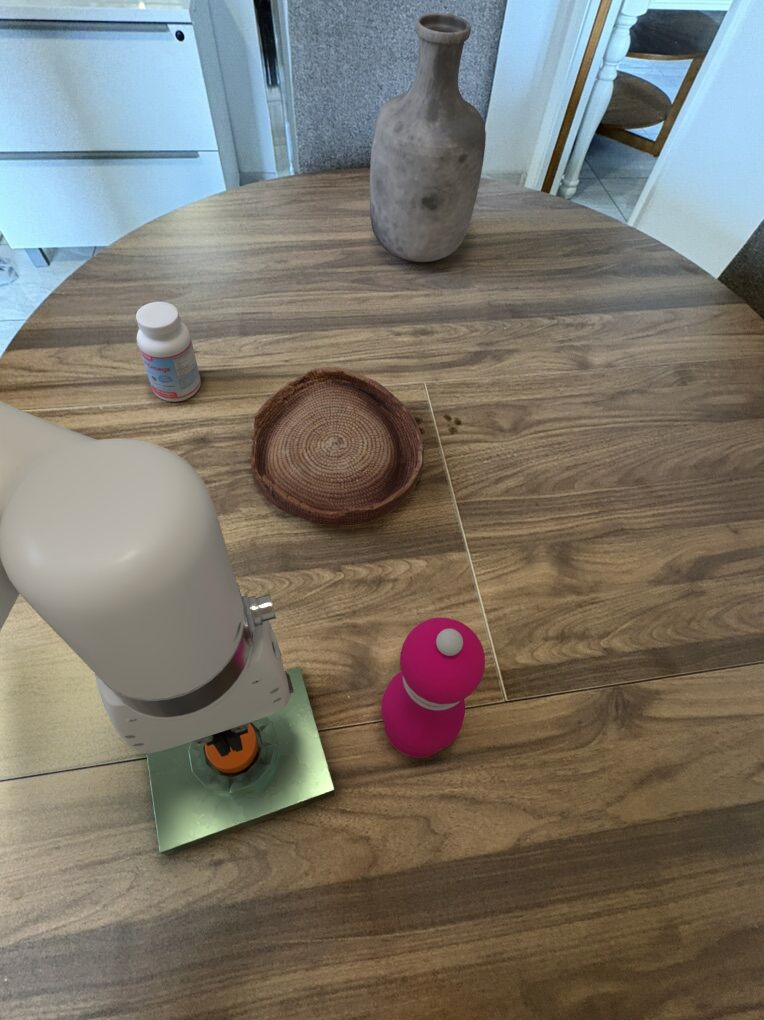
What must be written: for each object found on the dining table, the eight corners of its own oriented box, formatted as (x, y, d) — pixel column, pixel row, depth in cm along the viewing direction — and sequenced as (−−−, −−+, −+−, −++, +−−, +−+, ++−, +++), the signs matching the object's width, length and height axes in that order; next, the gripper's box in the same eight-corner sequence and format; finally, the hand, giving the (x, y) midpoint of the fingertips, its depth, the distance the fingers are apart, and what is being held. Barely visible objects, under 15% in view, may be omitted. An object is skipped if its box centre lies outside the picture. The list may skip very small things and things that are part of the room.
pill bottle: (142, 389, 78) (116, 316, 68) (177, 363, 81) (157, 290, 72) (177, 411, 76) (155, 339, 67) (212, 383, 79) (195, 311, 70)
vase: (345, 243, 99) (350, 13, 74) (416, 210, 105) (441, -10, 81) (415, 292, 93) (445, 60, 68) (485, 254, 99) (535, 31, 75)
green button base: (167, 856, 49) (153, 850, 45) (148, 723, 55) (135, 708, 51) (334, 795, 53) (334, 785, 49) (301, 676, 58) (298, 659, 55)
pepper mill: (366, 744, 55) (379, 665, 39) (394, 672, 59) (418, 572, 43) (442, 777, 54) (489, 709, 37) (466, 701, 58) (518, 610, 41)
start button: (213, 780, 49) (210, 776, 47) (204, 731, 51) (200, 725, 49) (263, 763, 50) (261, 758, 48) (252, 716, 52) (249, 710, 50)
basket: (240, 402, 78) (234, 373, 73) (392, 382, 81) (395, 353, 77) (266, 553, 66) (262, 528, 61) (444, 520, 69) (451, 495, 65)
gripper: (297, 542, 35) (310, 659, 50) (16, 615, 32) (121, 717, 47) (335, 661, 31) (337, 749, 46) (20, 760, 28) (132, 820, 43)
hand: (228, 733), depth 47 cm, fingers closed
